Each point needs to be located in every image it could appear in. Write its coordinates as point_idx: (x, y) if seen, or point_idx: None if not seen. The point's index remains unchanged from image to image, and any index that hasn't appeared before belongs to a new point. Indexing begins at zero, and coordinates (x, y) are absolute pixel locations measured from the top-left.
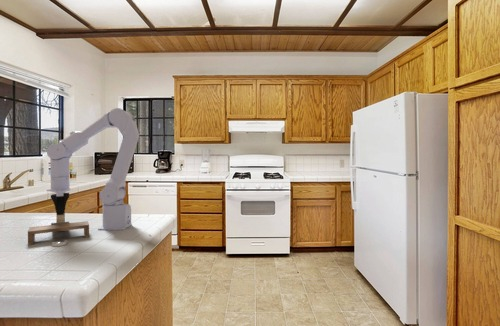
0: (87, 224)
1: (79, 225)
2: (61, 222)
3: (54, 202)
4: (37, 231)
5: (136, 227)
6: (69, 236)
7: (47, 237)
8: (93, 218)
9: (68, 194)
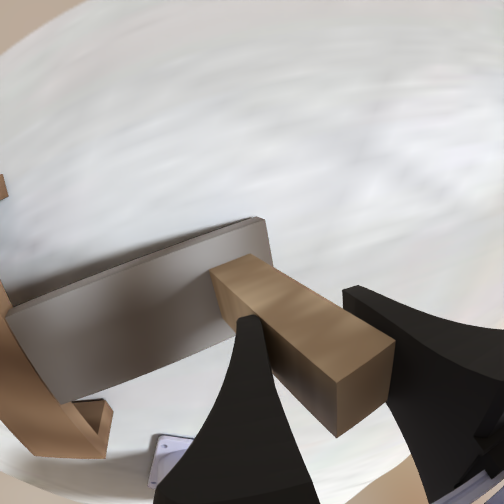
0: (37, 453)
1: (14, 431)
2: (36, 370)
3: (204, 434)
4: None
5: None
6: None
7: (47, 248)
8: None
9: (429, 499)
